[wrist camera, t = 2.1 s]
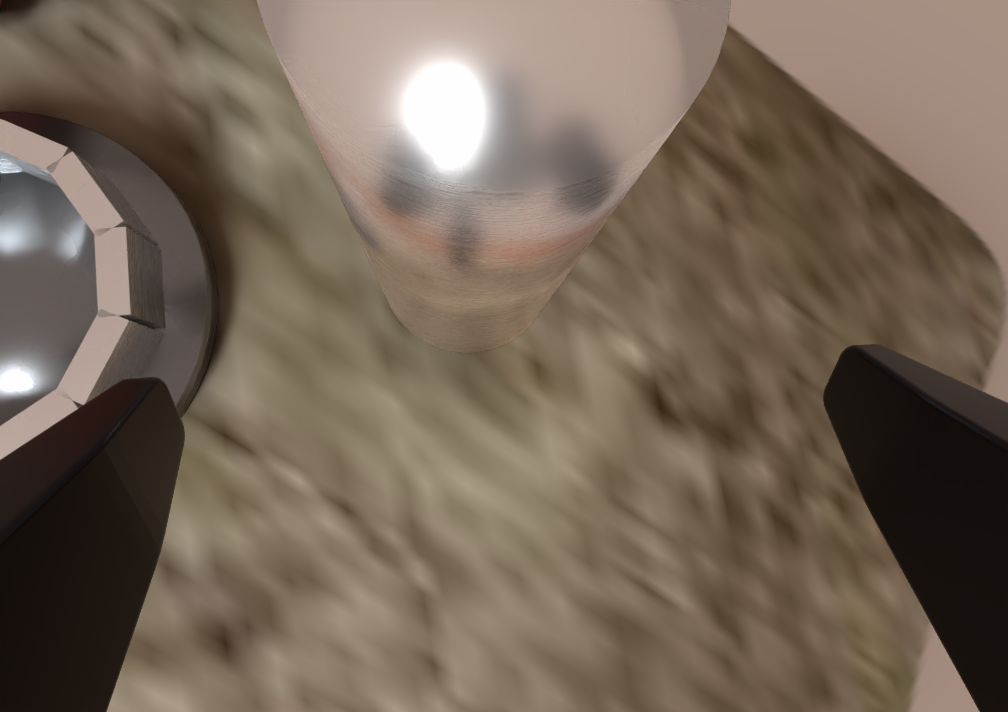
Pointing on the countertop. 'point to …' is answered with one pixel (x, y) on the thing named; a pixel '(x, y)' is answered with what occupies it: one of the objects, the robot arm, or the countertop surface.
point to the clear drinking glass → (488, 136)
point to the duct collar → (93, 276)
